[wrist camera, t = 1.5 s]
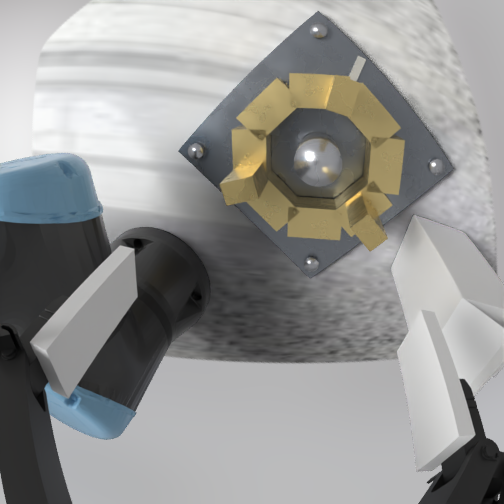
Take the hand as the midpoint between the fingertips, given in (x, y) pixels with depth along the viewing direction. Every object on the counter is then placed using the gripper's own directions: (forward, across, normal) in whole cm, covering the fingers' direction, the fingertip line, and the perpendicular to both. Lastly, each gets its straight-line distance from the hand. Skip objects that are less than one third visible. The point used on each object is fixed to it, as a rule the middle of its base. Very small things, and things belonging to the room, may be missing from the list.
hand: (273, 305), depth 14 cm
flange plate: (+21, +2, +3) cm, 21 cm away
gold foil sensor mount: (+20, +2, +3) cm, 20 cm away
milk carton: (+21, +17, -4) cm, 27 cm away
